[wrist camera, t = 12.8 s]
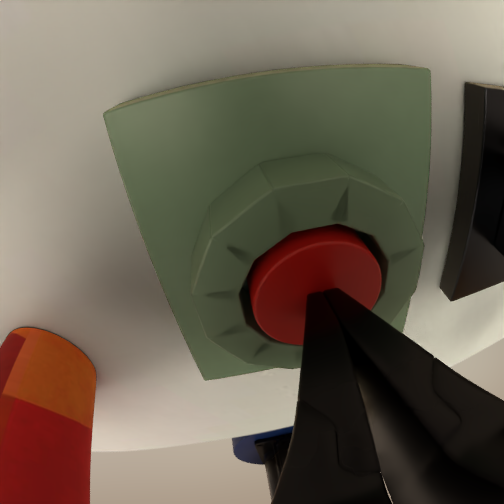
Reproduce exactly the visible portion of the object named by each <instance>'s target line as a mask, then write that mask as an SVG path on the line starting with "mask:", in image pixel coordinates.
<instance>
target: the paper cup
mask: <svg viewBox="0 0 504 504" xmlns="http://www.w3.org/2000/svg"><path fill="white" fill-rule="evenodd" d="M95 391H96V371H95V368H94V366H93V364H92V363H91V361H90V360H89V359H88V357H87V356H86V355H85V354H84V353H83V352H82V351H81V350H79V349H78V348H77V347H76V346H74V345H73V344H71V343H70V342H68V341H67V340H65V339H63V338H61V337H59V336H57V335H55V334H53V333H50V332H48V331H44V330H41V329H36V328H19V329H15V330H13V331H12V332H11V333H10V334H9V335H8V336H7V337H6V339H5V341H4V342H3V344H2V345H1V347H0V504H90V462H91V442H92V427H93V414H94V402H95Z"/></svg>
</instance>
